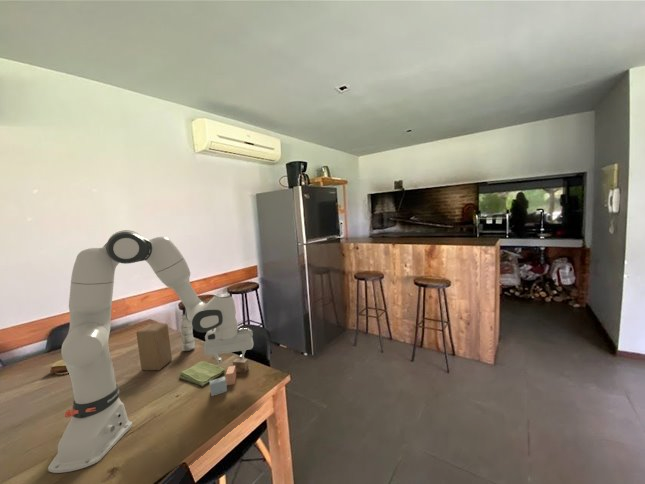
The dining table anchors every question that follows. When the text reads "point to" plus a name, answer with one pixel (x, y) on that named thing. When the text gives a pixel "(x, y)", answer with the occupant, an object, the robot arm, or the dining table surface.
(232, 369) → the brick terracotta
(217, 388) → the brick slate
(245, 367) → the brick walnut
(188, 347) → the plastic bottle
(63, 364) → the toy sandwich meal
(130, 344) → the dining table surface
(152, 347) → the block
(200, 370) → the washcloth
